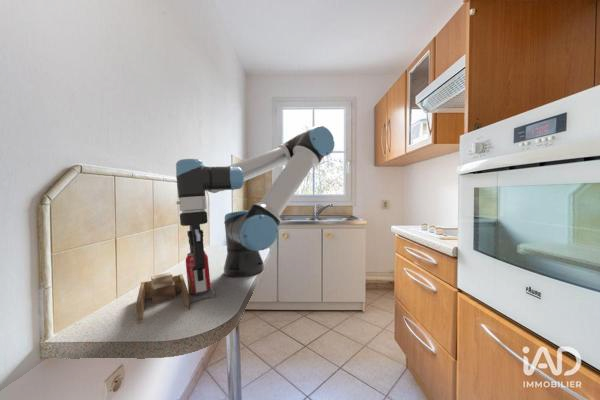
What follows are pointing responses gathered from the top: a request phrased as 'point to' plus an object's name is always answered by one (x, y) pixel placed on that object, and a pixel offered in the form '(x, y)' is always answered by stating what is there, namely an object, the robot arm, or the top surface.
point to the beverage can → (191, 274)
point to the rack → (146, 293)
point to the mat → (200, 296)
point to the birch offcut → (162, 280)
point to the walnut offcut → (163, 293)
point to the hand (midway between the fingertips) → (199, 288)
